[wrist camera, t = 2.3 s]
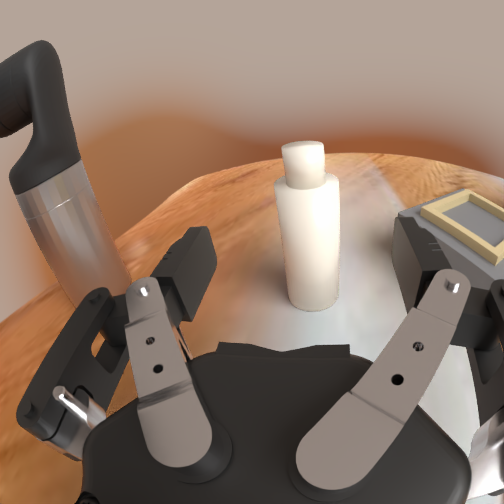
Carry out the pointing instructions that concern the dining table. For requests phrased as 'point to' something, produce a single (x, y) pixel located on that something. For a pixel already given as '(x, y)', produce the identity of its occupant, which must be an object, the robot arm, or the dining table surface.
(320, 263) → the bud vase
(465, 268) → the display riser
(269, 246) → the dining table surface
